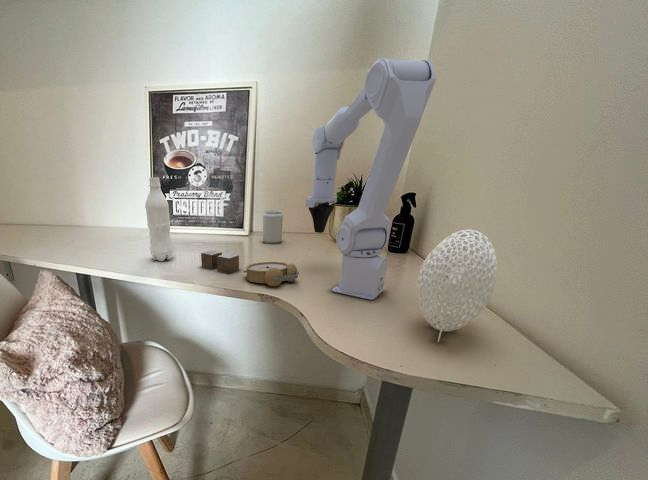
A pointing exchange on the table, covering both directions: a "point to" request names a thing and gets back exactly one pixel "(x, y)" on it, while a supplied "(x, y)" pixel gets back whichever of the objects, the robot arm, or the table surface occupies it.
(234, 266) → the walnut block near
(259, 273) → the alarm clock
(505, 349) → the table surface
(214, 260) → the walnut block far
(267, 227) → the can
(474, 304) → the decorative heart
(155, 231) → the water bottle
